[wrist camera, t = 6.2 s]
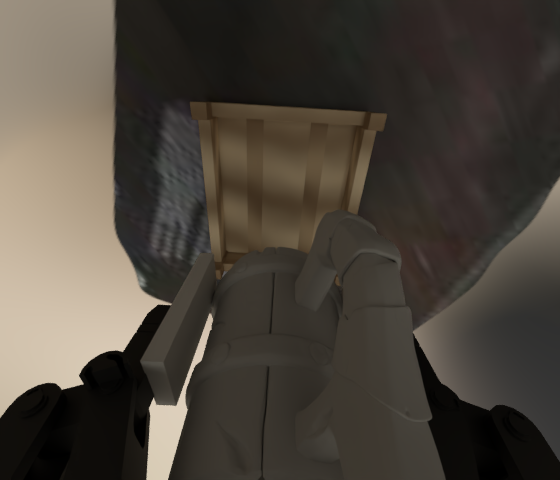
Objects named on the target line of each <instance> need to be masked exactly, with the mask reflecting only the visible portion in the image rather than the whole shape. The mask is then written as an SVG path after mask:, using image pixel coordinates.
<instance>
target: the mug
mask: <svg viewBox="0 0 560 480" xmlns="http://www.w3.org/2000/svg"><path fill="white" fill-rule="evenodd" d="M400 269H401V256H400V253H399V250H398V249H397V247H396V246H395V245H394V244H393V243H392V242H391V241H389V240H388V239H386V238H383V237H382V236H381V235H379V234H377V233H376V228H375V226H374V225H372V224H371V223H370V222H368V221H367V220H365V219H364V218H362V217H360V216H358V215H356V214H353V213H351V212H348V211H345V210H340V209H338V210H335V211H333V212H331V213H329V212H327V213H326V214H325V215H324V216H323V218H322V220H321V221H320V223H319V225H318V227H317V230H316V233H315V237H314V240H313V243H312V246H311V249H310V251H309V254H307V253H305V252H302V251H300V250H297V249H293V248H286V247H278V248H277V249H276V248H275V247H266V248H265V249H264V251H263V252H259V251H258V250H255V251H252V252H250V253H248V254H246V255H244V256H243V257H241V258H240V259H239V260H238V261H237V262H236V263H235V264H234V265H233V266H232V268H231V269H230V270H229V271H228V272H227V273H226V274H225V275H224V277H223V278H222V279H221V280H220V282H219V284H218V286H217V288H216V290H215V293H214V296H213V301H212V312H211V313H212V317H213V323H212V330H211V331H210V333H209V337H208V340H207V344H206V348H205V351H204V355H203V358H202V361H201V362H200V363H198V364H197V365H196V366H195V368H194V371H193V372H192V376H191V378H190V381H189V384H188V386H187V390H186V406H187V409H188V411H187V415H186V418H185V422H184V425H183V429H182V432H181V436H180V439H179V443H178V446H177V450H176V454H175V457H174V460H173V464H172V468H171V471H170V474H169V478H168V480H446V479H445V475H444V472H443V468H442V465H441V461H440V458H439V455H438V451H437V448H436V445H435V442H434V439H433V436H432V433H431V430H430V427H429V425H428V422H427V421H429V420H431V419H432V414H431V411H430V408H429V404H428V401H427V397H426V393H425V389H424V385H423V381H422V376H421V372H420V368H419V364H418V360H417V356H416V352H415V347H414V340H413V329H412V314H411V310H410V308H409V307H408V306H406V304H405V298H404V293H403V287H402V282H401V277H400V272H399V271H400ZM336 274H337V275H338V280H339V283H340V285H341V286H342V287H343V301H342V297H341V294H340V291H339V288H338V287H337V285H336V283H335V282H334V278H335V276H336Z"/></svg>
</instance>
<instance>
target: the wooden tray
mask: <svg viewBox="0 0 560 480" xmlns="http://www.w3.org/2000/svg"><path fill="white" fill-rule="evenodd" d="M190 107H191V116H192V119H193V120H198V124H199V134H200V143H201V153H202V163H203V172H204V182H205V192H206V202H207V211H208V221H209V231H210V241H211V250H212V254H214V260H215V270H216V279H221V278H222V275H223V272H224V271H229V270H230V269H231V268H232V266H233V265H234V264H235V263H236V262H237V261H238V260H239V259H240V258H241V257H243V256H244V255H246V254H248V253H250V252H252V251H255V250H258V251H259V252H263V251H264V249H265V248H266V247H275V248H276V249H277V248H278V247H286V248H293V249H297V250H300V251H302V252H305V253H307V254H309V251H310V249H311V246H312V243H313V240H314V237H315V233H316V230H317V227H318V225H319V223H320V221H321V220H322V218H323V216H324V215H325V214H326V213H327V212H329V213H331V212H333V211H335V210H338V209H340V210H345V211H348V212H351V213H353V214H356V215H357V213H358V208H359V204H360V200H361V195H362V191H363V187H364V182H365V178H366V174H367V169H368V165H369V161H370V156H371V152H372V148H373V143H374V139H375V135H376V131H383V129H384V125H385V121H386V117H387V114H383V113H376V112H368V111H353V110H336V109H320V108H304V107H288V106H272V105H256V104H240V103H224V102H190ZM334 282H335V283H336V285H337V286H341V285H340V283H339V280H338V275H337V274H336V276H335V278H334Z"/></svg>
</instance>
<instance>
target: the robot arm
mask: <svg viewBox="0 0 560 480" xmlns="http://www.w3.org/2000/svg"><path fill="white" fill-rule="evenodd" d="M216 288H217V280H216V270H215V260H214V254H212V253H200V255H199V256H198V258H197V260H196V262H195V264H194V265H193V267H192V269H191V271H190V273H189V274H188V276H187V278H186V280H185V281H184V283H183V285H182V287H181V289H180V290H179V292H178V294H177V296H176V298H175V299H174V301H173V303H172V305H157V306H156V307H155V308H154V309H152V310H151V311H150V312H149V313H148V314H147V316H146V317H145V319H144V320H143V322H142V325H140V327H139V328H138V330H137V332H136V333H135V334H134V336H133V337H132V339H131V340H130V342H129V344H128V345H127V347H126V348H125V350H124V351H123V352H120V351H108V352H105V353H103V354H100V355H98V356H97V357H95V358H94V359H92V360H91V361H90V362H88V364H87V365H86V366H85V367H84V368H83V369H82V371H81V373H80V375H79V377H80V378H81V380H82V381H83V383H84V384H83V385H79V386H75V387H71V388H67V389H63V390H61V388H60V387H59V386H58V385H57V384H55V383H45V384H41V385H38V386H36V387H34V388H31V389H29V390H27V391H26V392H25V393H23V394H22V395H21V396H19V397H18V398H17V399H16V400H15V401H14V402H13V403H12V404H11V405H10V406H9V407H8V409H7V410H6V411H5V413H4V414H3V415H2V417H1V418H0V480H146V474H147V459H148V442H149V425H150V412H149V407H150V404H151V402H152V400H153V398H154V399H155V401H156V404H157V405H174V406H176V405H177V402H178V399H179V397H180V394H181V391H182V388H183V385H184V383H185V380H186V377H187V374H188V371H189V369H190V366H191V363H192V360H193V357H194V355H195V352H196V349H197V346H198V343H199V341H200V338H201V335H202V332H203V329H204V327H205V324H206V321H207V318H208V315H209V313H210V310H211V307H212V301H213V296H214V293H215V290H216ZM341 297H342V301H343V288H342V292H341ZM413 340H414V347H415V352H416V356H417V360H418V364H419V368H420V372H421V376H422V381H423V385H424V389H425V393H426V397H427V401H428V404H429V408H430V411H431V414H432V419H431V420H429V421H427V422H428V425H429V427H430V430H431V433H432V436H433V439H434V442H435V445H436V448H437V451H438V455H439V458H440V461H441V465H442V468H443V472H444V475H445V479H446V480H560V462H559V460H558V459H557V457H556V456H555V454H554V452H553V451H552V449H551V448H550V446H549V445H548V443H547V442H546V440H545V438H544V437H543V435H542V434H541V432H540V431H539V430H538V429H537V427H536V426H535V425H534V424H533V422H531V421H530V420H529V419H528V418H527V417H526V416H525V415H523V414H522V413H520V412H519V411H517V410H515V409H514V408H511V407H508V406H505V405H496V406H495V407H493V408H492V409H491V410H490V411H489V410H486V409H483V408H481V407H478V406H475V405H472V404H470V403H467V402H465V401H462V400H460V399H459V398H458V396H457V395H456V394H455V393H454V392H453V391H452V390H451V389H449V388H448V387H447V386H445V385H443V384H441V382H440V381H439V379H438V378H437V376H436V374H435V372H434V370H433V368H432V367H431V365H430V363H429V361H428V360H427V358H426V356H425V354H424V352H423V350H422V349H421V347H420V346H419V343H418V341H417V339H416V338H415V336H414V334H413Z"/></svg>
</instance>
